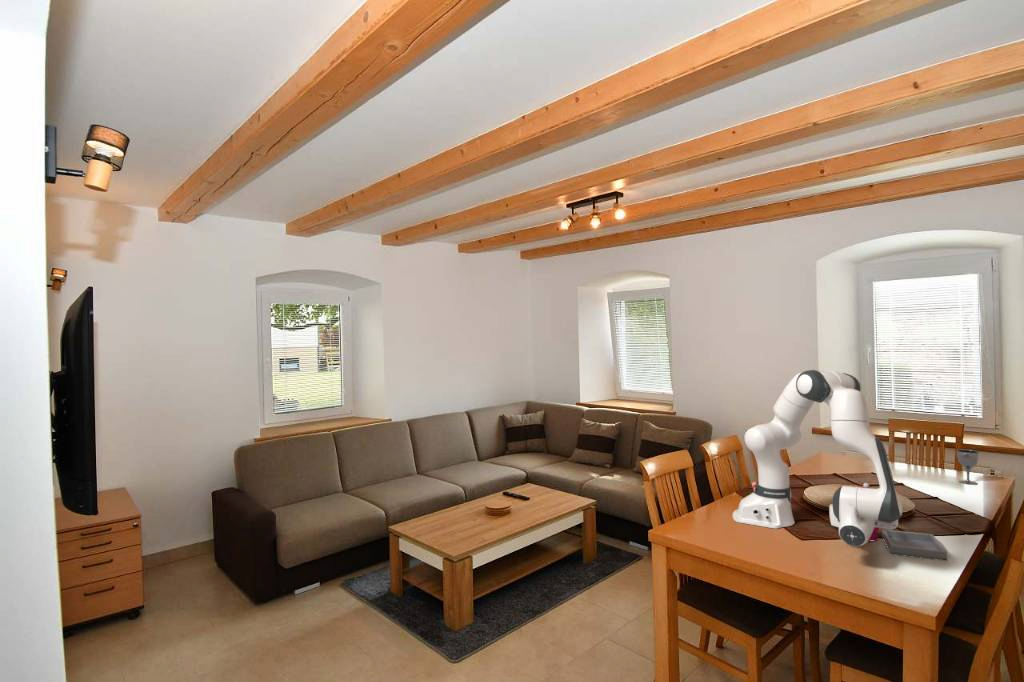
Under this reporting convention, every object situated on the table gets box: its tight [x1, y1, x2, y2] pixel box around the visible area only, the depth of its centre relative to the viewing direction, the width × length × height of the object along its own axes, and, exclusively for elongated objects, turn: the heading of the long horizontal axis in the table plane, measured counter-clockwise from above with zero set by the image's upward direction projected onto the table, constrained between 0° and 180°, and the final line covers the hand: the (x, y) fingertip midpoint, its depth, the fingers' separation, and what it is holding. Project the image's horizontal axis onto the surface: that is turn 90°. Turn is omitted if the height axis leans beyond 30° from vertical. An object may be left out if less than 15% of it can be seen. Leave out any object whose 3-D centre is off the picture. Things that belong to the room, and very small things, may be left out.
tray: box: [881, 528, 948, 562], centre depth 187 cm, size 15×16×3 cm
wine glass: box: [956, 448, 980, 486], centre depth 256 cm, size 8×8×15 cm
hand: (865, 509), depth 194 cm, fingers open, 8 cm apart
